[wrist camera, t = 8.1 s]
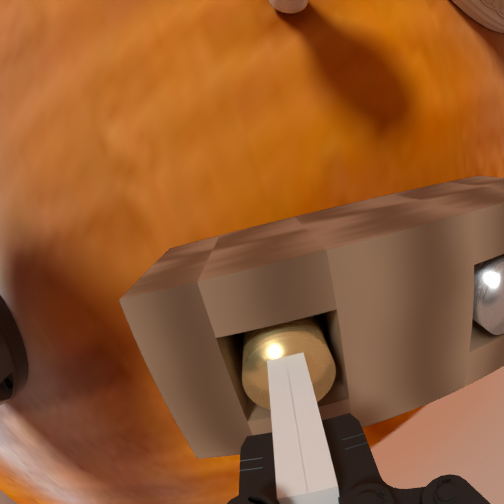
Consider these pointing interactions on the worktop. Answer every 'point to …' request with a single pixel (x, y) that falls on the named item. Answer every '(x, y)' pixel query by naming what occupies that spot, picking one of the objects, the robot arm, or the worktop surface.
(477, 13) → the jar
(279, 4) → the lightbulb
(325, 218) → the socket block
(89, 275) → the worktop surface
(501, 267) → the steel peg
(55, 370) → the worktop surface
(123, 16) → the worktop surface
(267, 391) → the brass peg
